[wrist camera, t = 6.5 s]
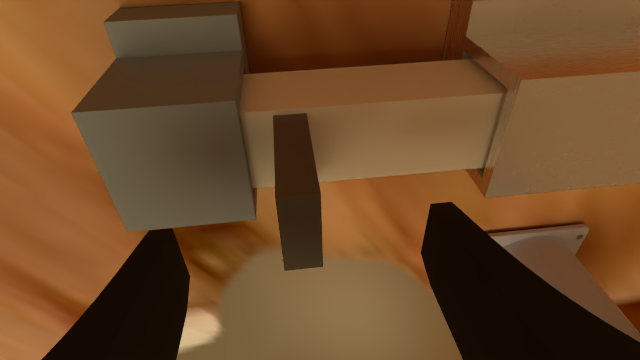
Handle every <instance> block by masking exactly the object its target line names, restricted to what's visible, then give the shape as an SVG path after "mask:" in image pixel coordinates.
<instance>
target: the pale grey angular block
mask: <svg viewBox="0 0 640 360" xmlns="http://www.w3.org/2000/svg"><path fill="white" fill-rule="evenodd" d="M507 91H508V89H507V88H506V87H505V86H504V85H503V84H502V83H501V82H499V81H498V80H497V79H496V78H495V77H494V76H492V75H491V74H490V73H489V72H488V71H487V70H486V69H484V68H483V67H482V66H481V65H480V64H479V63H477V62H476V61H475V60H474V59H462V60H448V61H433V62H418V63H403V64H389V65H374V66H359V67H345V68H330V69H315V70H300V71H286V72H271V73H256V74H243V80H242V88H241V97H240V105H239V111H240V117H241V123H242V129H243V135H244V141H245V146H246V152H247V158H248V164H249V170H250V176H251V181H252V187H253V188H261V187H272V186H275V199H276V207H277V215H278V222H279V230H280V238H281V246H282V254H283V261H284V269H285V270H295V269H305V268H315V267H323V253H322V222H321V193H320V187H319V182H328V181H339V180H350V179H362V178H373V177H384V176H395V175H407V174H418V173H429V172H440V171H452V170H463V169H474V168H485V166H486V163H487V159H488V156H489V152H490V149H491V146H492V142H493V139H494V135H495V132H496V129H497V125H498V122H499V118H500V115H501V112H502V108H503V105H504V101H505V98H506V95H507Z"/></svg>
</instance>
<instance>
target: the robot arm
mask: <svg viewBox="0 0 640 360" xmlns="http://www.w3.org/2000/svg"><path fill="white" fill-rule="evenodd" d="M588 232H589V228H588V227H587V226H586V225H585V224H578V225H568V226H558V227H548V228H539V229H529V230H519V231H509V232H499V233H489V234H487V233H486V232H485V231H484V230H482V229H481V228H480V227H479V226H478V225H477V224H476V223H475V222H473V221H472V220H471V219H470V218H469V217H468V216H467V215H466V214H465V213H463V212H462V211H461V210H460V209H459V208H458V207H457V206H456V205H454V204H453V203H452V202H446V203H436V204H431V205H430V210H429V215H428V220H427V225H426V230H425V235H424V240H423V245H422V250H421V255H422V258H423V262H424V265H425V269H426V272H427V275H428V279H429V282H430V285H431V287H432V290H433V292H434V294H435V297H436V299H437V301H438V304H439V306H440V308H441V310H442V313H443V315H444V317H445V320H446V322H447V324H448V326H449V329H450V331H451V333H452V335H453V338H454V340H455V342H456V344H457V347H458V349H459V351H460V354H461V356H462V358H463V360H640V333H639V332H638V331H637V330H636V329H635V327H634V326H633V325H632V324H631V322H630V321H629V320H628V319H627V318H626V316H625V315H624V314H623V313H622V312H621V310H620V309H619V308H618V307H617V305H616V304H615V303H614V302H613V301H612V299H611V298H610V297H609V296H608V295H607V293H606V292H605V291H604V290H603V288H602V287H601V286H600V285H599V284H598V282H597V281H596V280H595V279H594V278H593V276H592V275H591V274H590V273H589V271H588V270H587V269H586V268H585V267H584V265H583V264H582V263H581V262H580V261H579V259H578V258H577V257H576V256H575V255H576V253H577V251H578V249H579V248H580V246H581V244H582V242H583V241H584V239H585V237H586V235H587V234H588ZM189 282H190V275H189V272H188V270H187V267H186V264H185V262H184V259H183V256H182V253H181V251H180V248H179V245H178V243H177V240H176V237H175V234H174V232H173V229H172V228H171V229H160V230H150V231H149V232H148V233H147V234H146V235H145V236H144V238H143V239H142V240H141V242H140V243H139V244H138V246H137V247H136V248H135V250H134V251H133V252H132V254H131V255H130V256H129V258H128V259H127V260H126V261H125V263H124V264H123V265H122V267H121V268H120V269H119V271H118V272H117V273H116V275H115V276H114V277H113V278H112V280H111V281H110V282H109V283H108V285H107V286H106V287H105V288H104V290H103V291H102V292H101V293H100V295H99V296H98V297H97V298H96V300H95V301H94V302H93V303H92V304H91V306H90V307H89V308H88V309H87V310H86V311H85V312H84V314H83V315H82V316H81V317H80V318H79V319H78V320H77V322H76V323H75V324H74V325H73V326H72V327H71V329H70V330H69V331H68V332H67V333H66V334H65V335H64V336H63V337H62V339H61V340H60V341H59V342H58V343H57V344H56V345H55V346H54V347H53V348H52V349H51V350H50V351H49V352H48V353H47V354H46V356H45V357H44V358H43V359H42V360H176V358H177V354H178V349H179V345H180V340H181V336H182V331H183V327H184V322H185V317H186V312H187V304H188V294H189Z"/></svg>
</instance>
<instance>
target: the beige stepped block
mask: <svg viewBox="0 0 640 360" xmlns="http://www.w3.org/2000/svg"><path fill="white" fill-rule="evenodd" d="M462 59H474V60H475V61H476V62H477V63H479V64H480V65H481V66H482V67H483V68H484V69H486V70H487V71H488V72H489V73H490V74H491V75H492V76H494V77H495V78H496V79H497V80H498V81H499V82H501V83H502V84H503V85H504V86H505V87H506V88H507V89H508V91H507V95H506V98H505V101H504V105H503V108H502V112H501V115H500V118H499V122H498V125H497V129H496V132H495V135H494V139H493V142H492V146H491V149H490V152H489V156H488V159H487V163H486V166H485V168H474V169H465V170H466V171H467V173H468V174H469V175H470V177H471V178H472V180H473V181H474V183H475V184H476V186H477V187H478V189H479V190H480V191H481V193H482V194H483V196H484V197H485V198H490V197H501V196H511V195H522V194H532V193H543V192H553V191H564V190H574V189H585V188H596V187H606V186H617V185H627V184H638V183H640V0H452V6H451V12H450V18H449V23H448V29H447V35H446V41H445V46H444V52H443V58H442V61H448V60H462Z"/></svg>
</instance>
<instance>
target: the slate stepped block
mask: <svg viewBox="0 0 640 360" xmlns="http://www.w3.org/2000/svg"><path fill="white" fill-rule="evenodd" d="M104 25H105V28H106V31H107V33H108V36H109V39H110V42H111V45H112V47H113V50H114V53H115V56H116V60H115V61H114V62H113V63H112V64H111V66H110V67H109V68H108V69H107V70H106V72H105V73H104V74H103V75H102V76H101V78H100V79H99V80H98V81H97V82H96V84H95V85H94V86H93V87H92V88H91V90H90V91H89V92H88V93H87V94H86V96H85V97H84V98H83V99H82V100H81V102H80V103H79V104H78V105H77V106H76V108H75V109H74V110H73V111H72V112H71V114H72V116H73V118H74V120H75V122H76V124H77V126H78V128H79V130H80V133H81V135H82V137H83V139H84V141H85V143H86V145H87V147H88V150H89V152H90V154H91V156H92V158H93V160H94V162H95V164H96V166H97V169H98V171H99V173H100V175H101V177H102V179H103V181H104V183H105V186H106V188H107V190H108V192H109V194H110V196H111V198H112V200H113V202H114V205H115V207H116V209H117V211H118V213H119V215H120V217H121V219H122V222H123V224H124V226H125V228H126V230H127V232H131V231H142V230H152V229H163V228H173V227H184V226H194V225H205V224H215V223H226V222H237V221H247V220H256V204H257V188H253V187H252V181H251V176H250V170H249V164H248V158H247V152H246V146H245V141H244V135H243V129H242V123H241V117H240V111H239V105H240V97H241V88H242V80H243V74H250V72H249V65H248V58H247V51H246V44H245V37H244V30H243V23H242V16H241V9H240V2H225V3H207V4H189V5H170V6H152V7H134V8H119V9H118V10H117V11H116V12H114V13H113V14H112V15H111V16H110V17H109V18H108V19H106V20H105V21H104Z"/></svg>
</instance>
